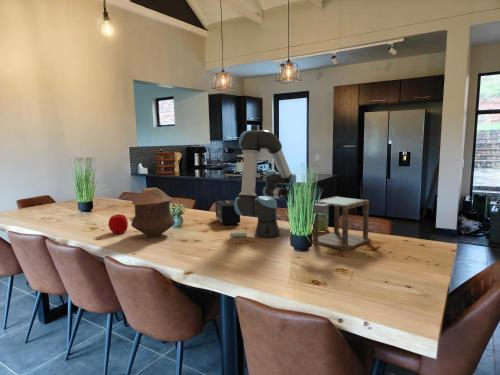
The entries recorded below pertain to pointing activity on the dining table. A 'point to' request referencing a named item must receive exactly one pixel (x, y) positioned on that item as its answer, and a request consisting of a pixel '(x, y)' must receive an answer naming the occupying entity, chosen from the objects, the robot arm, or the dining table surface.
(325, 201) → the trapdoor
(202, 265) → the dining table surface
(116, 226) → the tomato
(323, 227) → the chalk box
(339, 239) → the stand
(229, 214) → the speaker
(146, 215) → the pottery vessel
